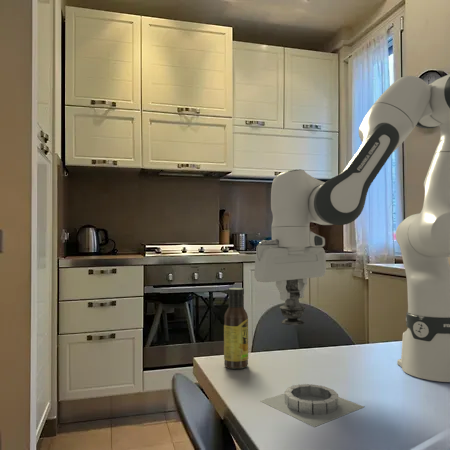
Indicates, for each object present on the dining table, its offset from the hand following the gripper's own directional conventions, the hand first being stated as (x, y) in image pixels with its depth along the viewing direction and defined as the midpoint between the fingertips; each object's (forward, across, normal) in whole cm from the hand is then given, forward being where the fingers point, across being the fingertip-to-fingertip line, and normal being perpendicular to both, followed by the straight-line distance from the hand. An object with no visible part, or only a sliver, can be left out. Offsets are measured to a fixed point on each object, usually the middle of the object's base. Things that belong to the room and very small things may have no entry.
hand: (292, 299), depth 94 cm
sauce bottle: (+19, -4, +16) cm, 25 cm away
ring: (+18, -8, -13) cm, 24 cm away
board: (+19, -8, -13) cm, 24 cm away
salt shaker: (+6, 0, 0) cm, 6 cm away
